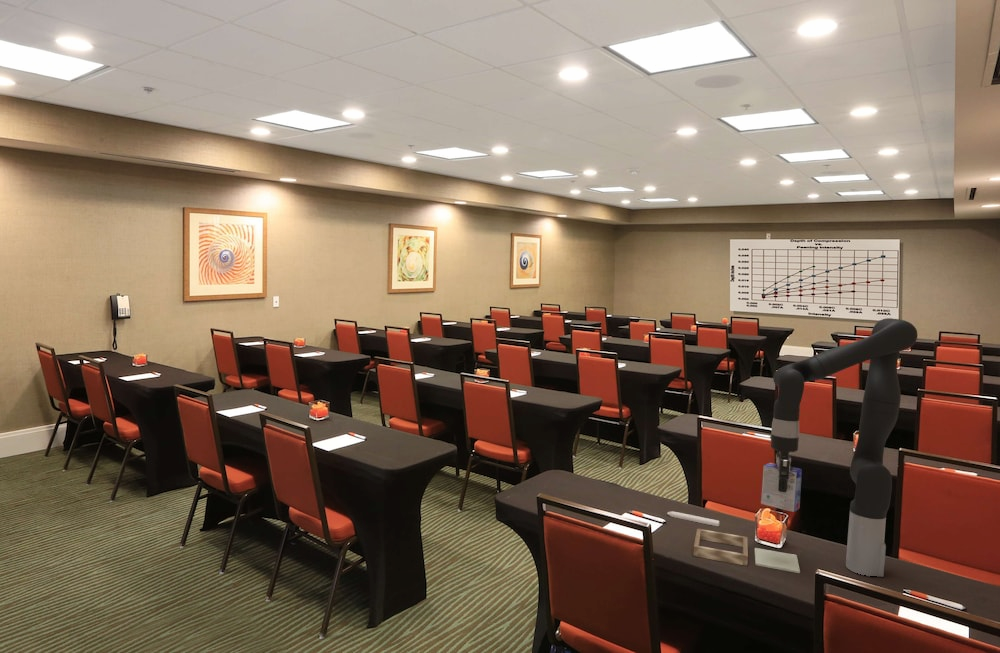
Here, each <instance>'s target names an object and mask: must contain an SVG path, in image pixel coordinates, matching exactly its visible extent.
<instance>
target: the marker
mask: <svg viewBox="0 0 1000 653" xmlns="http://www.w3.org/2000/svg"><path fill="white" fill-rule="evenodd" d="M667 515H668V516H669V517H670V518H675V519H679V520H683V521H684V520H685V521H689V522H694V523H699V524H704V525H709V526H713V527H719V526H720V520H717V519H712V518H707V517H703V516H698V515H694V514H688V513H684V512H678V511H667Z"/></svg>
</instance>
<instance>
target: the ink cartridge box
mask: <svg viewBox="0 0 1000 653" xmlns="http://www.w3.org/2000/svg"><path fill="white" fill-rule="evenodd" d="M762 467H763V468H762V469H763V470H762V484H761V499H760V504H761V505H765V506H768V507H773V508H777V509H780V510H783V511H789V512H792V513H794V512H797V511H798V510H799V509H800V504H801V490H802V489H801V488H802V487H801V486H802V474H803V472H802V471H803V469H802V468H799V467H793V466H790V472H789V479H788V480H787V491H786V492H780V491H779V490H778V486H779V478H778V476H779V472H778V471H777V464H776V463H773V462H768V463H765V464H764V465H763V466H762ZM781 475H786V472H782V473H781Z"/></svg>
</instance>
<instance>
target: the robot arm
mask: <svg viewBox="0 0 1000 653" xmlns="http://www.w3.org/2000/svg"><path fill="white" fill-rule="evenodd" d="M870 334H871V335H869V336H867V337H865V338H862V339H859V340H856V341H854V342H850V343H847V344H843V345H840V346H836V347H833V348H829V349H826V350H824V351H821V352H819V353H817V354H815V355H812V356H810V357H808V358H805V359H803V360H800V361H799V360H798V361H796V362H792V363H788V364H786V365H784V366H782V367H780V368H778V369H777V370H776V371H775V372H774V374H773V377H772V379H773V380H772V381H773V382H774V384H775V385H776V386H777V387H778V394H777V399H776V400H775V401H774V404H773V415H772V417H773V418H772V422H771V434H770V448H771V449H772V450H775V451H777V453H775V460H776V461H775V462H776V463H775V464H777V471H778V472H779V476H778V478H779V486H778V490H779V491H780V492H786V491H787V480H788V479H789V472H790V467H791V462H792V457H791V456H792V455H790V453H796V452H798V450H799V442H800V440H799V439H800V437H799V436H800V406H801V402H802V399H803V395H804V390H805V383H807V382H810V381H818V380H823V379H824V378H827V377H829V376H832V375H835V374H836V373H839V372H841V371H844V370H846V369H848V368H851V367H853V366H857V365H859V364H861V363H864V362H867V361H869V365H868V370H867V376H866V382H865V388H864V393H863V398H862V404H861V412H860V418H859V419H860V421H859V427H858V436H857V442H856V446H855V449H854V452H853V456H852V459H851V463H850V467H849V475H850V477H851V479H852V481H853V482H854V483H855V493H854V499H853V500H851V501H850V503H849V504H850V505H849V520H848V530H847V531H848V532H847V545H846V558H845V567H846V568H847V569H848V570H849V571H850V572H853V573H855V574H857V573H858V575H860V574H861V575H860V576H864V575H866V576H865V577H870V576H877V577H880V578H881V577H884V573H885V561H886V550H887V545H886V543H885V536H886V535H885V534H886V523H887V522H886V520H887V513H888V511H889V509H890V504H891V500H892V499H891V498H892V490H893V477H892V474H891V472H890V470H889V469H888V468H887V467H886V466H885V465H884V463H883V462H884V452H885V445H886V442H887V439H888V438H889V436H890V434H891V433H892V431H893V430H894V427H895V426H896V423H897V421H898V417H899V411H900V407H901V406H900V405H901V399H902V396H901V387H900V382H899V375H898V362H899V357H900V352H902V351H906V350H908V349H910V348H911V347H913V346H914V345H915V343H917V342H916V341H917V339H918V330H917V328H916V327H915V325H914V324H913V323H911V322H909V321H907V320H905V319H900V318H890V317H887V318H883V319H881V320H879V321H877V322H876V323H875V324H874V326H873V327H872V329H871V333H870ZM782 472H786V475H781V473H782Z"/></svg>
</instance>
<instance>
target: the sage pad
mask: <svg viewBox="0 0 1000 653" xmlns="http://www.w3.org/2000/svg"><path fill="white" fill-rule="evenodd" d="M754 560H755V561H754V563H755V566H757V567H763V568H769V569H775V570H780V571H785V572H790V573H795V574H800V573H801V570H800V566H799V560H798V555H797V554H792V553H786V552H782V551H781V552H780V551H777V550H776V551H775V550H770V549H764V548H758V547H754Z"/></svg>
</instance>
